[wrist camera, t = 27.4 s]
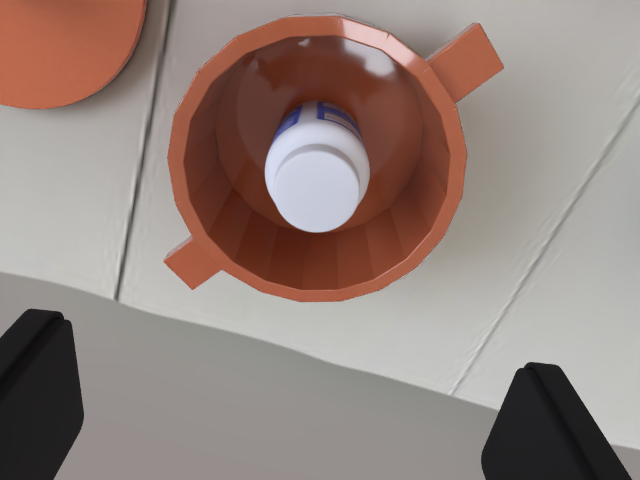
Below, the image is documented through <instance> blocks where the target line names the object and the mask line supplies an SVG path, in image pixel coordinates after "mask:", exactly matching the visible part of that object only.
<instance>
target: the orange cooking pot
mask: <svg viewBox="0 0 640 480" xmlns="http://www.w3.org/2000/svg"><path fill="white" fill-rule="evenodd" d="M502 69H504V66H503V64H502V62H501V60H500V58H499V57H498V55H497V53H496V51H495V50H494V48H493V46H492V44H491V42H490V41H489V39H488V37H487V35H486V34H485V32H484V30H483V28H482V27H481V25H480V24H479V23H472V24H470V25H469V26H468V27H466V28H465V29H464V30H462V31H461V32H460V33H458V34H457V35H456V36H454V37H453V38H452V39H451V40H449V41H448V42H447V43H445V44H444V45H443V46H441V47H440V48H439V49H437V50H436V51H435V52H433V53H432V54H431V55H429V56H428V57H427V58H425V59H423V58H422V57H421V56H419V55H418V54H417V53H415V52H414V51H413V50H412V49H410V48H409V47H408V46H407V45H405V44H404V43H403V42H401V41H400V40H399V39H398V38H396V37H395V36H394V35H393V34H391V33H389V32H388V31H385V30H383V29H381V28H379V27H376V26H374V25H371V24H368V23H365V22H362V21H359V20H356V19H353V18H350V17H347V16H344V15H341V14H338V13H314V14H294V15H291V16H287V17H284V18H281V19H279V20H276V21H273V22H271V23H268V24H266V25H263V26H261V27H258V28H256V29H253V30H251V31H248V32H246V33H243V34H241V35H238V36H236V37H235V38H233V39H232V40H231V41H230V42H229V43H228V44H227V45H226V46H224V47H223V48H222V49H221V50H220V51H219V52H218V53H217V54H215V55H214V56H213V57H212V58H211V59H210V60H209V61H208V62H206V63H205V64H204V65H203V66H202V67H201V68H200V69H199V71H197V72H196V74H195V76H194V78H193V80H192V82H191V84H190V85H189V87H188V89H187V91H186V93H185V95H184V96H183V98H182V100H181V102H180V104H179V106H178V108H177V109H176V111H175V114H174V119H173V125H172V131H171V138H170V144H169V151H168V157H167V159H168V165H169V171H170V177H171V183H172V188H173V194H174V200H175V202H176V203H175V204H176V206H177V208H178V210H179V212H180V214H181V216H182V218H183V220H184V221H185V223H186V225H187V227H188V229H189V231H190V233H191V236H190V237H189V238H187V239H186V240H185V241H183V242H182V243H181V244H180V245H178V246H177V247H176V248H174V249H173V250H172V251H170V252H169V253H168V254H167V256H166V257H165V259H164V260H163V262H164V263H165V264H166V265H167V266H168V267H169V268H170V269H171V270H172V271H173V272H174V273H175V274H176V275H177V276H178V277H180V278H181V279H182V280H183V281H184V282H185V283H186V284H187V285H188V286H189V287H190V288H191V289H192V290H194V289H195V288H196V287H198V286H199V285H201V284H202V283H203V282H205V281H206V280H208V279H209V278H210V277H212V276H213V275H215V274H216V273H218V272H219V271H220V270H223V271H225V272H227V273H228V274H230V275H232V276H234V277H236V278H237V279H239V280H241V281H243V282H244V283H246V284H248V285H250V286H251V287H253V288H255V289H257V290H258V291H261V292H263V293H267V294H271V295H275V296H279V297H283V298H286V299H290V300H294V301H298V302H339V301H344V300H347V299H351V298H354V297H358V296H361V295H365V294H368V293H372V292H375V291H379V290H380V289H383V288H384V287H386V286H388V285H389V284H391V283H392V282H394V281H396V280H397V279H399V278H401V277H402V276H404V275H405V274H407V273H409V272H410V271H412V270H414V269H415V268H416V267H417V266H418V265H419V264H420V263H421V262H422V260H423V259H424V258H425V257H426V256H427V255H428V254H429V253H430V252H431V250H432V249H433V248H434V247H435V246H436V245H437V244H438V243H439V242H440V240H441V239H442V238H443V236H444V235H445V233H446V231H447V229H448V227H449V224H450V222H451V220H452V218H453V216H454V214H455V211H456V209H457V207H458V205H459V203H460V200H461V197H462V194H463V185H464V176H465V168H466V159H467V153H466V152H467V150H466V145H465V141H464V136H463V132H462V127H461V123H460V118H459V114H458V109H457V107H456V104H455V103H456V102H458V101H459V100H460V99H462V98H463V97H465V96H466V95H467V94H469V93H470V92H472V91H473V90H474V89H476V88H477V87H479V86H480V85H481V84H483V83H484V82H486V81H487V80H488V79H490V78H491V77H493V76H494V75H495V74H497V73H498V72H500V71H501V70H502ZM311 100H325V101H330V102H333V103H336V104H338V105H340V106H342V107H343V108H344V109H346V110H347V111H348V112H349V113H350V114H351V115H352V116H353V117H354V119H355V121H356V122H357V124H358V127H359V129H360V132H361V136H362V139H363V142H364V145H365V149H366V152H367V156H368V160H369V166H370V178H369V183H368V187H367V190H366V193H365V195H364V197H363V199H362V200H361V202H360V203H359V204H358V206H357V208H356V210H355V211H354V213H353V215H352V216H351V217H350V218H349V219H348V220H347V221H346V222H345V223H344V224H343V225H341V226H339V227H338V228H336V229H333V230H330V231H326V232H308V231H304V230H301V229H299V228H296V227H295V226H293V225H291V224H290V223H289V222H287V221H286V220H285V219H284V218H283V216H282V215H281V214H280V212H279V210H278V208H277V206H276V204H275V202H274V201H273V199H272V198H271V196H270V194H269V192H268V189H267V186H266V181H265V164H266V159H267V155H268V152H269V149H270V147H271V144H272V142H273V139H274V137H275V134H276V131H277V129H278V126H279V124H280V122H281V121H282V119H283V118H284V116H285V115H286V114H287V113H288V112H289V111H290V110H291V109H292V108H294V107H295V106H297V105H299V104H301V103H303V102H307V101H311Z"/></svg>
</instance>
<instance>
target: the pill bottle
mask: <svg viewBox="0 0 640 480" xmlns="http://www.w3.org/2000/svg"><path fill="white" fill-rule="evenodd" d="M369 178H370V166H369V160H368V156H367V152H366V149H365V145H364V142H363V139H362V136H361V132H360V129H359V127H358V124H357V122H356V121H355V119H354V117H353V116H352V115H351V114H350V113H349V112H348V111H347V110H346V109H344V108H343V107H342V106H340V105H338V104H336V103H333V102H330V101H325V100H311V101H307V102H303V103H301V104H299V105H297V106H295V107H294V108H292V109H291V110H290V111H289V112H288V113H287V114H286V115H285V116H284V118H283V119H282V121H281V122H280V124H279V126H278V129H277V131H276V134H275V137H274V139H273V142H272V144H271V147H270V149H269V152H268V155H267V159H266V164H265V181H266V186H267V189H268V192H269V194H270V196H271V198H272V199H273V201H274V202H275V204H276V206H277V208H278V210H279V212H280V214H281V215H282V216H283V218H284V219H285V220H286V221H287V222H289V223H290V224H291V225H293V226H295V227H296V228H299V229H301V230H304V231H308V232H326V231H330V230H333V229H336V228H338V227H339V226H341V225H343V224H344V223H345V222H346V221H347V220H348V219H349V218H350V217H351V216H352V215H353V213H354V211H355V210H356V208H357V206H358V204H359V203H360V202H361V200H362V199H363V197H364V195H365V193H366V190H367V187H368V183H369Z"/></svg>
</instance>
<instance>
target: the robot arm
mask: <svg viewBox="0 0 640 480" xmlns="http://www.w3.org/2000/svg"><path fill="white" fill-rule="evenodd" d="M83 419H84V411H83V403H82V396H81V388H80V381H79V374H78V366H77V359H76V352H75V344H74V337H73V330H72V324H71V322H70V321H69V320H64V316H63V315H62V313H61V312H58V311H48V310H39V309H28V310H27V311H25V312H24V313H23V314H22V315H21V316H20V317H19V318H18V319H17V320H16V322H15V323H14V324H13V325H12V326H11V327H10V328H9V329H8V330H7V331H6V332H5V333H4V334H3V336H1V338H0V480H53V479H54V477H55V476H56V474H57V472H58V470H59V468H60V466H61V465H62V463H63V461H64V459H65V458H66V456H67V454H68V452H69V450H70V449H71V447H72V445H73V443H74V441H75V439H76V438H77V436H78V434H79V432H80V430H81V427H82V424H83ZM481 464H482V470H483V473H484V475H485V479H486V480H632V479H631V477H630V476H629V474H628V472H627V471H626V469H625V468H624V466H623V465H622V463H621V461H620V460H619V458H618V457H617V455H616V454H615V452H614V451H613V449H612V448H611V446H610V444H609V443H608V441H607V440H606V438H605V436H604V435H603V433H602V432H601V430H600V429H599V427H598V425H597V424H596V422H595V421H594V419H593V418H592V416H591V414H590V413H589V411H588V410H587V408H586V407H585V405H584V403H583V402H582V400H581V399H580V397H579V396H578V394H577V392H576V391H575V389H574V388H573V386H572V385H571V383H570V381H569V380H568V378H567V377H566V375H565V374H564V372H563V370H562V369H561V368H560V367H559V366H557V365H553V364H544V363H534V362H529V363H527V364H526V365H525V367H524V368H519V369H518V370H517V372H516V373H515V376H514V378H513V380H512V383H511V385H510V387H509V390H508V392H507V395H506V397H505V399H504V402H503V404H502V406H501V409H500V411H499V413H498V416H497V418H496V421H495V423H494V425H493V428H492V430H491V432H490V435H489V437H488V439H487V442H486V444H485V446H484V449H483V451H482V457H481Z"/></svg>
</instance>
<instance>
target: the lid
mask: <svg viewBox="0 0 640 480" xmlns="http://www.w3.org/2000/svg"><path fill="white" fill-rule="evenodd" d="M146 5H147V0H0V104H2V105H7V106H12V107H17V108H26V109H49V108H57V107H61V106H66V105H70V104H72V103H75V102H78V101H80V100H83V99H86V98H88V97H89V96H91V95H93V94H95V93H97V92H98V91H100V90H101V89H102V88H104V87H105V86H106V85H107V84H109V83H110V82H111V81H112V80H113V79H114V78H115V77H116V76H117V75H118V74H119V73H120V71H121V70H122V69H123V68H124V66H125V65H126V63H127V62H128V60H129V59H130V57H131V55H132V53H133V51H134V49H135V47H136V45H137V42H138V40H139V37H140V34H141V30H142V27H143V23H144V18H145V12H146Z"/></svg>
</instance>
